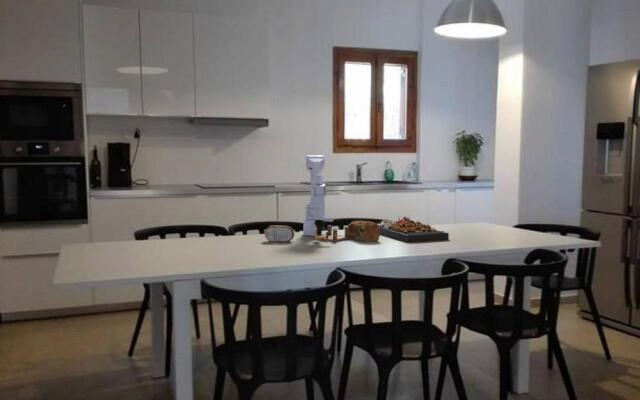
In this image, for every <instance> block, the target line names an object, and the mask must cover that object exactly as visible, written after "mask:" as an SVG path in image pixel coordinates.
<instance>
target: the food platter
mask: <svg viewBox="0 0 640 400" xmlns="http://www.w3.org/2000/svg"><path fill="white" fill-rule="evenodd" d="M397 217H398V219H397V220H396V221H395V220H392V219H389V218H388V219H386V218H385V219H383V220H382V221H380V222H375V223H376V224H377V225H378V226H379V229H380V235H379V236H383V237H387V238H389V239H393V240H397V241H400V242H404V243H406V244H411V243H413V242H414V243H426V242H441V241H442V242H443V241H449V238H450V237H449V235H450V234H449V232H446V231H444V230H437V229H436V228H435V227H432V226H431V225H429V224H423V223H422V222H421V221H414V220H411V219H410V216H408V217H407V216H402V218H401V219H400V216H399V215H398V216H397Z"/></svg>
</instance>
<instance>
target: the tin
mask: <svg viewBox="0 0 640 400" xmlns="http://www.w3.org/2000/svg"><path fill="white" fill-rule="evenodd" d="M264 237H265V239H266V240H267V241H269V242H271V243H272V242H273V243H289V242H290V241H292V240H293V239H294V237H295V230H294V228H292V227H291V226H289V225H279V224H278V225H277V224H276V225H275V224H274V225H273V224H272V225H269V226H268V227H266V229H265V230H264Z"/></svg>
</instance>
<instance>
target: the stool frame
mask: <svg viewBox="0 0 640 400" xmlns="http://www.w3.org/2000/svg"><path fill="white" fill-rule="evenodd" d="M319 236H326V238H320V239H315V236H313V240H314V241H323V242H324V241H325V242H332V243H338V242H343V241H346V240H347V241H348V240H350V239H351V236H349V227H348V226H345V227H344V235H340V234H338V228H337V229H336V228H334V229H332V225H331V224H329V225H327V231H326V232H325V234H324V235H319Z"/></svg>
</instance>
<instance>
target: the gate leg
mask: <svg viewBox="0 0 640 400" xmlns="http://www.w3.org/2000/svg"><path fill="white" fill-rule="evenodd" d="M314 237H315V239H320V238H326V236H319V235H317V229H315V236H314Z"/></svg>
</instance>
